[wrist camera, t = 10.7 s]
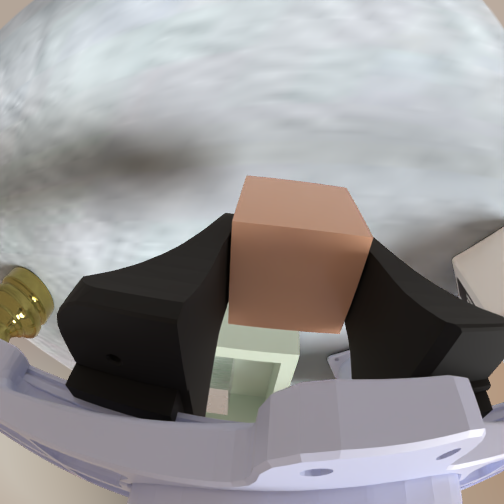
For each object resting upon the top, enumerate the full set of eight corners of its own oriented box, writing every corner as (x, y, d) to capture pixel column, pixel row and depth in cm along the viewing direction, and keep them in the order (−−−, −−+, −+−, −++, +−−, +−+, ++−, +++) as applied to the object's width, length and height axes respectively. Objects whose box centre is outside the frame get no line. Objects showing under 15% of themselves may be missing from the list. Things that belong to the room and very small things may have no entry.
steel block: (235, 345, 27) (228, 390, 23) (233, 374, 29) (227, 415, 25) (182, 337, 27) (169, 380, 23) (186, 367, 30) (176, 406, 25)
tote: (297, 308, 25) (299, 355, 21) (274, 395, 33) (272, 431, 29) (130, 287, 25) (107, 326, 21) (154, 377, 33) (143, 410, 29)
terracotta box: (346, 187, 11) (373, 237, 8) (327, 269, 14) (339, 333, 10) (246, 175, 11) (232, 220, 8) (240, 259, 14) (227, 323, 10)
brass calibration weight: (4, 259, 26) (-45, 314, 17) (45, 272, 26) (-7, 338, 17) (21, 305, 30) (-17, 359, 21) (62, 320, 30) (24, 383, 21)
